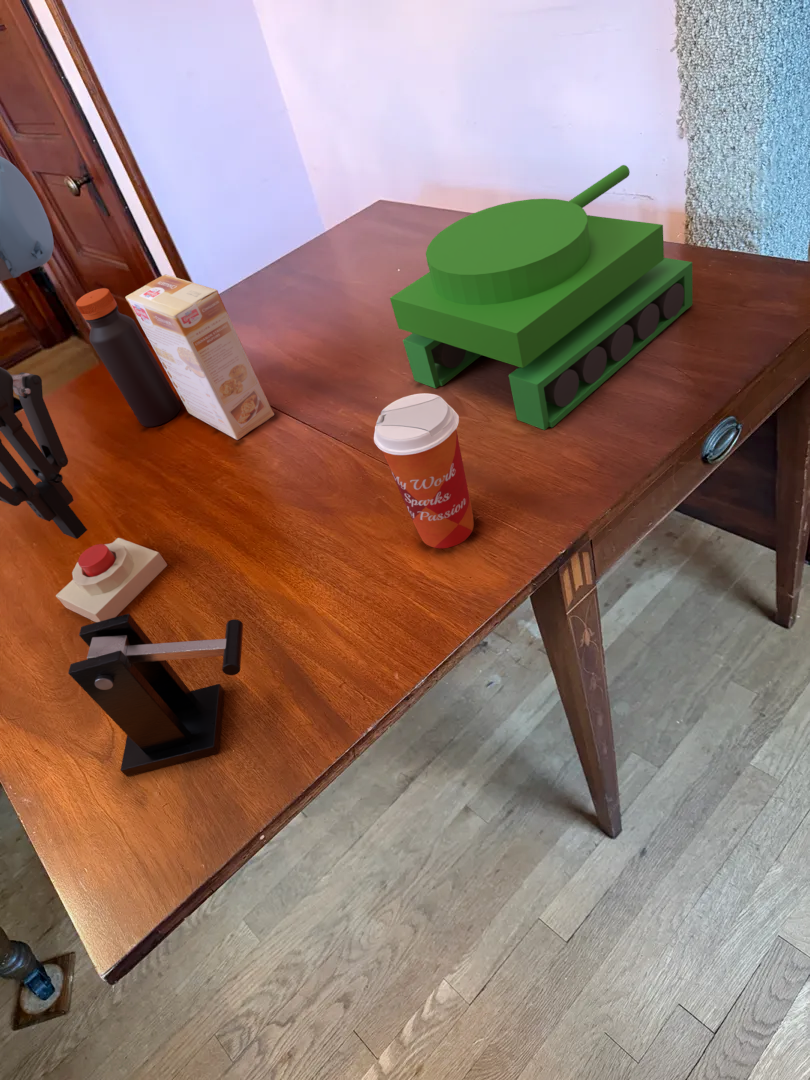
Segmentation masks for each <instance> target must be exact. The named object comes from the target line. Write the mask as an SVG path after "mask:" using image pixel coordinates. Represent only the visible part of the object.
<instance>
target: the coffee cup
mask: <svg viewBox="0 0 810 1080" xmlns="http://www.w3.org/2000/svg"><path fill="white" fill-rule="evenodd" d="M459 422H460V416H459V414H458V413H457V412H456V411H455V409H454V408H453V407H452V406H451V405H449V404H448V403H447V401H446V400H445V398H443V397H442V396H441V395H439V394H434V393H427V392H425V393H424V392H423V393H422V392H421V393H414V394H411V395H406V396H403V397H401V398H398V399H396V400H394V401H392V402H391V403H389V404H388V405H386V406H385V407H384V408H383V409H382V410H381V411H380V414H379V415H378V417H377V420H376V423H375V426H374V433H373V442H374V444H375V445H376V447H377V448H378V449H379V450H380V451H382V454H383V457H384V458H385V461H386V463H387V466H388V467H389V470H390V472H391V475H392V477H393V479H394V481H395V484H396V486H397V488H398V490H399V493H400V496H401V498H402V499H403V502H404V504H405V507H406V508H407V511H408V513H409V516H410V518H411V520H412V522H413V524H414V527H415V530H416V531H417V533H418V535H419V537H420V539H421V540H422V542H423V543H424V544H425V545H426V546H428V547H431V548H434V549H448V548H453V547H455V546H458V545H460V544H462V543H463V542H465V541H466V540H467V539H468V538H469V537H470V535H471V534H472V533H473V530H474V525H475V524H474V523H475V521H474V514H473V509H472V503H471V497H470V493H469V487H468V482H467V476H466V472H465V467H464V462H463V457H462V451H461V446H460V441H459V437H458V432H457V428H458V426H459Z"/></svg>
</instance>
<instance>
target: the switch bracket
mask: <svg viewBox="0 0 810 1080" xmlns="http://www.w3.org/2000/svg"><path fill="white" fill-rule="evenodd" d="M120 635H127V637H128V640H129V643H130V645H143V644H154V643H153V642H152V640H151V639H150V638H149V637H148V636H147V634H146V633H145V632H144V630H143V629H142V628H141V627H140V625H139V624H138V623H137V621H136V620H135V619H134V618H133V616H131V614H130V613H126V614H122V615H119V616H118V615H117V616H116V617H114V618H111V619H107V620H103V621H100V622H93V623H88V624H86V625H83V626H81V627H80V630H79V634H78V636H79V637H80V638H81V639H82V641H83V642H85V644H86V645H87V646H88V648H90V644H91V641H92V638H93V637H106V636H120ZM67 674H68V675H69V676H70V677H71V678H72V679H73V680H74V682H76V683H77V685H79V687H80V688H81V689H83V690H84V692H85V693H86V694H87V695H88V696H89V697H90V698H91V699H92V700H93V701H94V702H95V703H96V704H97V706H99V707H100V708H101V709H102V710H103V712H104V713H105V714H106V715H107V716H108V717H109V718H110V719H111V720H112V721H113V722H114V723H115V724H116V725H117V726H118V727H119V728H120V729H121V731H123V733H125V734H126V739H125V745H124V750H123V754H122V759H121V765H120V772H121V773H122V774H124V776H125V777H127V778H128V777H131V776H135V775H139V774H143V773H147V772H152V771H155V770H159V769H163V768H167V767H170V766H175V765H178V764H181V763H186V762H187V763H188V762H190V761H194V760H198V759H202V758H206V757H210V756H213V755H217V754H220V748H221V736H222V725H223V724H222V723H223V715H224V713H223V712H224V702H225V701H224V700H225V688H224V687H223V686H222V685H221V683H216V684H213V685H208V686H205V687H201V688H198V689H193V690H191V689H190V688H189V687H188V686H187V684H185V682H184V681H183V680H182V678H181V677H180V676H179V674H178V673H177V672H176V671H175V670H174V668H173V667H172V666H171V665H170V663H169V662H168V660H163V661H149V662H136V663H131V662H130V661H129V659H128V658H127V657H126V656H125V655H124V653H123V652H122V651H121V650H120V651H116V652H112V653H109V654H105V655H101V656H98V657H94V658H90V659H87V658H86V659H84V660H80V661H75V662H72V663H71V664H70V665H69V668H68V672H67Z"/></svg>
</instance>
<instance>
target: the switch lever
mask: <svg viewBox="0 0 810 1080" xmlns="http://www.w3.org/2000/svg"><path fill="white" fill-rule="evenodd" d="M224 633H225V634H224V638H215V639H213V638H212V639H202V640H199V639H198V640H189V641H187V640H186V641H185V640H184V641H172V642H160V643H159V642H158V643H153V644H143V645H130V643H129V640H128V637H127V635H120V636H106V637H93V638H92V641H91V644H90V647H88V648H89V649H88V652H87V656H86V660H87V659H90V658H94V657H98V656H101V655H105V654H109V653H112V652H116V651H120V650H121V651H122V652H123V653H124V655H125V656H126V657H127V658H128V659H129V661H130V662H131V663H136V662H149V661H163V660H166V661H174V660H175V661H177V660H191V659H200V658H201V659H202V658H218V657H222V666H221V667H222V668H221V671H222V672H223V674H225V675H227V676H235V675H238V674H239V673H240V672H241V665H242V664H241V663H242V651H243V637H244V635H243V634H244V624H243V622H242V621H241V620H239V619H230V620H228V621H227V622H226V624H225V632H224Z"/></svg>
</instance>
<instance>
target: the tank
mask: <svg viewBox="0 0 810 1080" xmlns="http://www.w3.org/2000/svg"><path fill="white" fill-rule="evenodd" d="M630 174H631V173H630V168H629V167H628V166H627V165H626V164H622V165H620V166H619V167H617V168H616V169H614V170H613V171H611V172H609V173H608V174H606V175H605V176H604V177H602V178H601V179H599V180H598V181H596V182H595V183H593V184H592V185H591V186H589V187H587V188H586V189H585V190H583V191H581V192H579V194H577V195H576V196H574V197H572V198H571V199H570V200H564V199H557V198H533V199H532V198H529V199H523V200H522V199H521V200H515V201H510V202H505V203H501V204H498V205H494V206H490V207H487V208H484V209H482V210H478V211H476V212H473V213H471V214H469V215H467V216H465V217H463V218H460V219H458V220H456V221H455V222H453V223H452V224H451V223H450V225H448V226H446V227H445V228H443V229H442V230H441V231H440V232H438V234H436V236H434V238H432V239H431V241H430V243H429V244H428V246H427V248H426V251H425V257H426V258H425V259H426V263H427V267H428V272H427V273H426V274H423V275H422V276H421V277H420V278H417V279H416V280H415V281H413V282H412V283H410V284H409V285H407V286H406V287H404V288H403V289H401V290H399V291H398V292H397V293H395V294H394V295H392V296H391V297H389V300H390V304H391V307H392V310H393V314H394V316H395V320H396V324H397V328H398V330H401V331H404V332H407V333H411V334H409V335H408V336H406V337H405V338H404V339H402V343H403V346H404V350H405V354H406V357H407V360H408V363H409V368H410V370H411V373H412V377H413V380H414V381H415V382H417V383H419V384H423V385H426V386H428V387H430V388H432V389H433V388H434V389H438V388H439V387H443V386H444V385H446V384H447V383H448V382H450V381H451V380H452V379H453V378H455V377H456V376H457V375H459V374H460V373H461V372H462V371H463V370H465V369H466V368H468V367H469V366H470V365H471V364H472V363H474V362H475V361H476V360H478V359H479V358H480V357H481V356H484V357H486V358H490V359H493V360H496V361H499V362H502V363H505V364H509V365H512V366H515V367H516V369H515V370H513V371H512V372H511V373H509V374H508V380H509V385H510V390H511V394H512V395H511V396H512V401H513V405H514V412H515V415H516V417H515V418H516V420H517V421H519V422H521V423H524V424H527V425H530V426H533V427H536V428H538V429H541V430H542V431H546V430H547V429H548V428H554V427H555V426H556V425H557V424H558V423H559V422H561V421H562V420H563V419H564V418H565V417H567V416H568V414H570V413H571V412H572V411H573V410H574V409H575V408H577V407H578V406H579V405H580V404H581V403H582V402H583V401H585V400H586V399H587V398H588V397H589V396H590V395H592V393H593V392H595V391H596V390H597V389H598V388H600V387H601V385H603V384H604V383H605V382H607V380H608V379H609V378H610V377H612V376H613V375H614V374H615V373H616V372H618V371H619V369H621V368H622V367H623V366H625V364H627V363H628V362H629V361H630V360H631V359H632V358H633V357H635V356H636V355H637V354H638V353H639V352H641V350H642V349H644V348H645V347H646V346H647V345H648V344H649V343H650V342H651V341H653V340H654V339H655V338H656V337H657V336H659V335H660V334H661V333H662V332H663V331H664V330H665V329H667V327H669V326H670V325H671V324H672V323H673V322H674V321H676V320H677V319H678V318H679V317H680V316H681V315H682V314H683V313H684V312H686V311H687V310H688V309H690V307H692V306H693V304H694V303H693V302H694V301H693V261H686V260H682V259H676V258H669V257H665V250H664V246H665V245H664V224H661V223H660V224H659V223H652V222H644V221H637V220H629V219H621V218H612V217H605V216H598V215H597V216H596V215H589V214H587V212H586V210H585V209H584V208H585V207H586V206H588V205H589V204H591V203H592V202H594V201H595V200H596V199H598V198H599V197H601V196H602V195H604V194H606V193H607V191H609V190H610V189H611V190H612V189H613V188H614V187H615V186H617V185H619V184H620V183H621V182H623V181H624V180H625V179H627V178H628V177H629V176H630Z"/></svg>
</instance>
